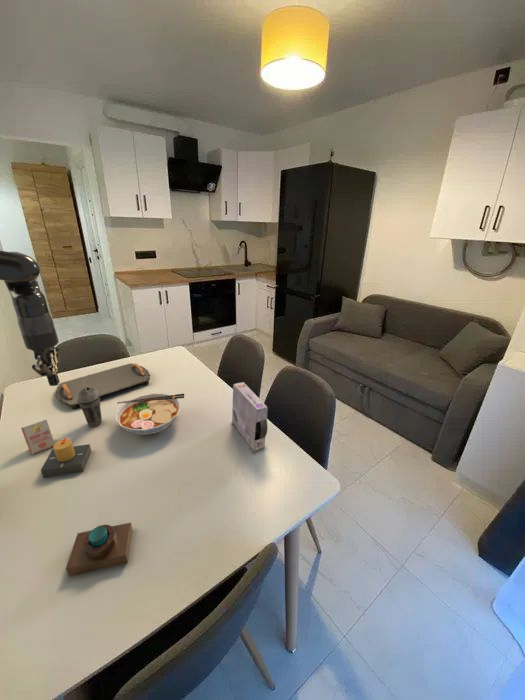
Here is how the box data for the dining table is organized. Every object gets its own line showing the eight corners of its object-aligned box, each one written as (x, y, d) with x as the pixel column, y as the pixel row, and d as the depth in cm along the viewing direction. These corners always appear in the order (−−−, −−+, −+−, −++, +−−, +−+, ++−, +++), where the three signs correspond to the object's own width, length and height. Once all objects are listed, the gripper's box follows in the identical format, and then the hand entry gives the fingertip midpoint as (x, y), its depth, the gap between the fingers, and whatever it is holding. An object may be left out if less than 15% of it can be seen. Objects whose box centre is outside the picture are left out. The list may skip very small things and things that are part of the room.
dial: (72, 460, 90) (68, 447, 88) (55, 463, 89) (50, 450, 87) (77, 449, 94) (73, 436, 92) (60, 452, 93) (56, 439, 91)
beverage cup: (108, 416, 115) (98, 372, 107) (102, 428, 109) (91, 382, 100) (88, 418, 114) (76, 373, 106) (81, 430, 107) (68, 384, 99)
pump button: (88, 549, 65) (86, 543, 64) (92, 533, 68) (91, 527, 67) (106, 545, 66) (104, 539, 65) (109, 530, 69) (108, 524, 68)
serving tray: (138, 365, 155) (136, 355, 153) (157, 382, 140) (155, 371, 138) (52, 391, 131) (48, 379, 128) (64, 414, 116) (60, 401, 113)
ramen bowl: (108, 451, 98) (103, 431, 95) (123, 411, 119) (120, 394, 115) (184, 442, 103) (182, 423, 100) (186, 405, 124) (184, 389, 120)
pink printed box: (29, 448, 98) (20, 425, 94) (53, 439, 102) (45, 416, 98) (31, 454, 96) (21, 430, 92) (55, 445, 100) (47, 422, 96)
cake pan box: (267, 449, 101) (269, 407, 94) (255, 454, 99) (256, 411, 92) (242, 418, 116) (242, 380, 109) (231, 422, 114) (230, 383, 107)
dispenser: (69, 576, 64) (63, 562, 62) (80, 541, 71) (75, 527, 69) (127, 563, 67) (124, 549, 65) (132, 530, 74) (129, 516, 72)
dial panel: (43, 477, 88) (40, 469, 86) (54, 456, 96) (52, 448, 94) (83, 471, 90) (81, 463, 89) (91, 450, 98) (89, 443, 97)
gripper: (43, 337, 74) (61, 395, 81) (62, 321, 85) (76, 372, 92) (9, 339, 72) (30, 398, 79) (33, 322, 84) (49, 375, 91)
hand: (54, 384), depth 86 cm, fingers closed
